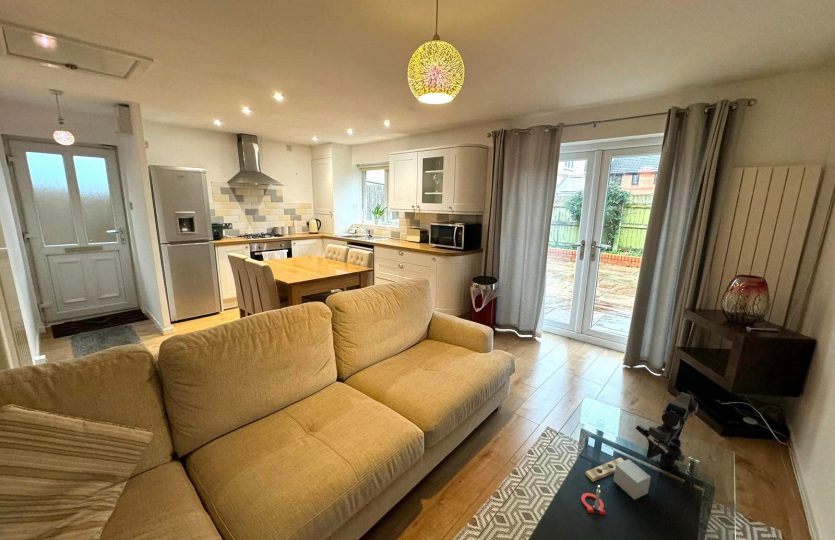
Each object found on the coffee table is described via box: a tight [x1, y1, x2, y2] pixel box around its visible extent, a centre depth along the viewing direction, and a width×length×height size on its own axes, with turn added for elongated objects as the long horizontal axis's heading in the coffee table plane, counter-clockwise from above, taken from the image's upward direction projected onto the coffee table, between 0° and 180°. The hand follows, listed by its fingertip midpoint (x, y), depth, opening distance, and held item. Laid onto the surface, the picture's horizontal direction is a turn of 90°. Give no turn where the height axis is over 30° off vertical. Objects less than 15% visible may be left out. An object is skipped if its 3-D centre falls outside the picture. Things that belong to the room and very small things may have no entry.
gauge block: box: [612, 458, 652, 501], centre depth 143 cm, size 8×10×9 cm
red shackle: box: [580, 485, 606, 516], centre depth 135 cm, size 8×13×9 cm
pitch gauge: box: [585, 457, 626, 482], centre depth 152 cm, size 22×4×2 cm, turn 110°
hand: (647, 457), depth 144 cm, fingers closed
